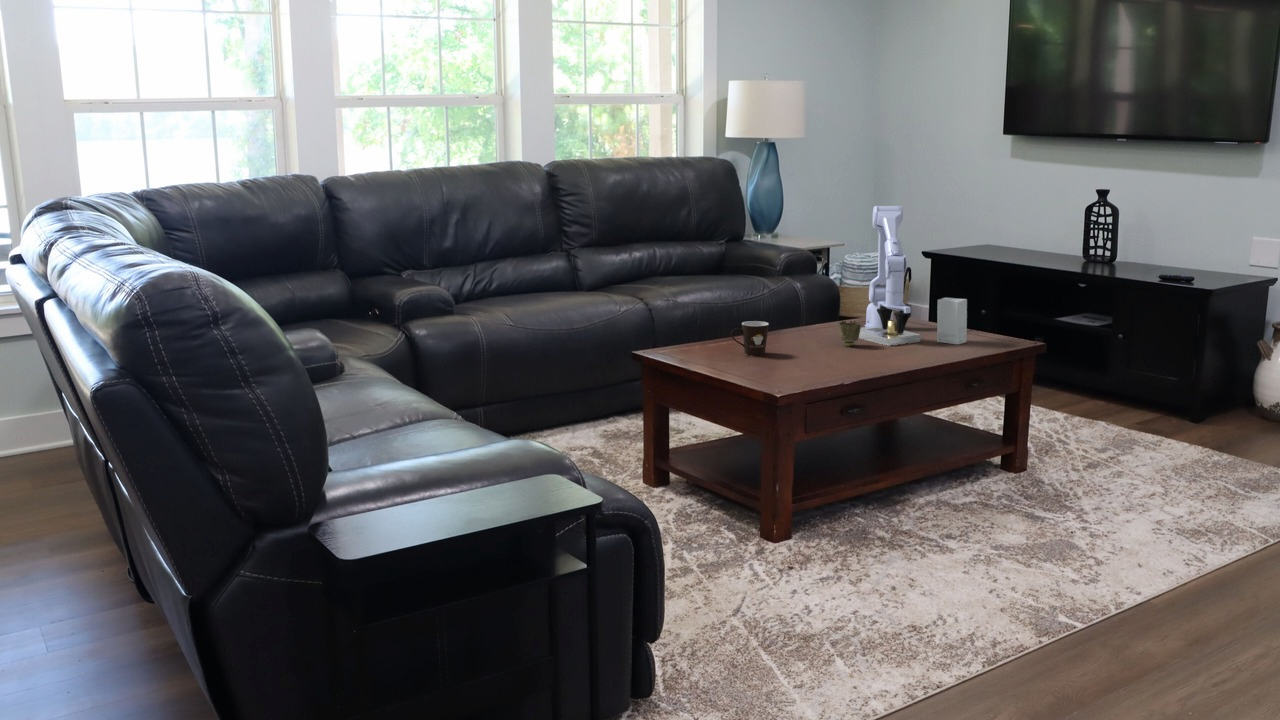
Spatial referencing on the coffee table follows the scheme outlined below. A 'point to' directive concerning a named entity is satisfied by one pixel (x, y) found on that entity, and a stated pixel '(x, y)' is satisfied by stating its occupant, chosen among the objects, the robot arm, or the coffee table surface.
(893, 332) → the brass sleeve
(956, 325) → the skincare box
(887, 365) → the coffee table surface
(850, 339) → the cup
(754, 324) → the coffee mug
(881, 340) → the jig plate
